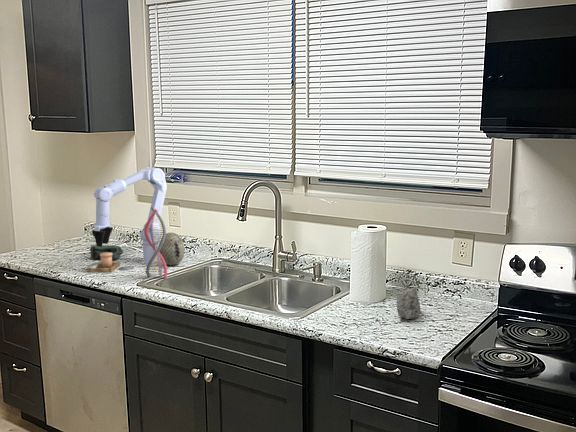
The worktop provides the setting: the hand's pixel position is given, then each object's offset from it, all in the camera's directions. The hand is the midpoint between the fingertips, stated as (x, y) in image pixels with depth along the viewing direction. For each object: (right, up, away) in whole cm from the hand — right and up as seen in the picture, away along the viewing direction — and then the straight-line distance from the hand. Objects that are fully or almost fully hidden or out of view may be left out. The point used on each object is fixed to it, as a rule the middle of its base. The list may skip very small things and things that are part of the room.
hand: (102, 244), depth 279 cm
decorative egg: (+29, -10, +10) cm, 32 cm away
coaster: (+10, -11, +2) cm, 15 cm away
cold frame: (+1, -11, +1) cm, 11 cm away
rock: (+124, -22, -62) cm, 140 cm away
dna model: (+27, -14, -13) cm, 33 cm away
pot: (+2, -11, +1) cm, 11 cm away
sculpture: (-4, -8, +21) cm, 23 cm away
